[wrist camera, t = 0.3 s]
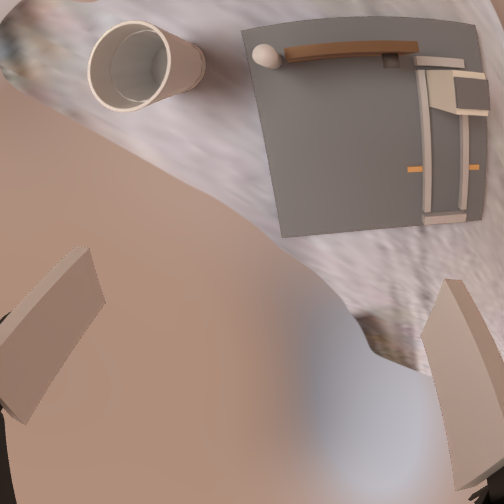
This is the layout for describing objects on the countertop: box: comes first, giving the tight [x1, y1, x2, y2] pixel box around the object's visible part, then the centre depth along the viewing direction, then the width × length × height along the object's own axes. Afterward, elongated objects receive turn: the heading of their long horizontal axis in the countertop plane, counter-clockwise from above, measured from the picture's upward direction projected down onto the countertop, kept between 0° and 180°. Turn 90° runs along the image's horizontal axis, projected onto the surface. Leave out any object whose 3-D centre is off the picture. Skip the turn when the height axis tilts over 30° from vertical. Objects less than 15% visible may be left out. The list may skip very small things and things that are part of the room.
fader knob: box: [425, 70, 490, 116], centre depth 22 cm, size 4×4×7 cm
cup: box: [88, 20, 206, 112], centre depth 25 cm, size 8×8×12 cm
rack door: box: [284, 40, 419, 68], centre depth 23 cm, size 2×12×6 cm, turn 101°
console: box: [241, 16, 487, 238], centre depth 26 cm, size 24×26×10 cm
